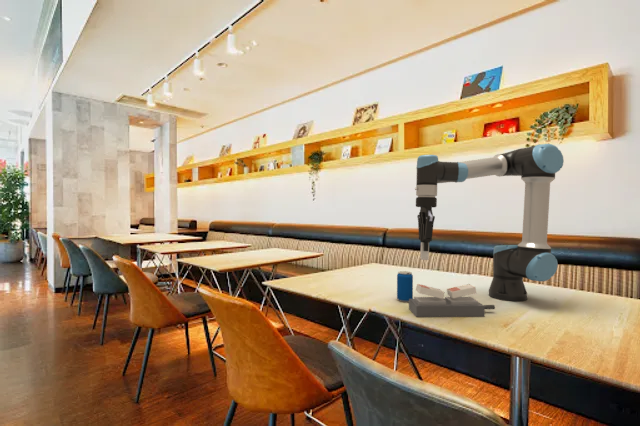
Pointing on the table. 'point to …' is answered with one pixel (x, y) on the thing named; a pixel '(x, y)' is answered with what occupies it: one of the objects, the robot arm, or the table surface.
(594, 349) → the table surface
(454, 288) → the rocker
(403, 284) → the beverage can
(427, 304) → the power strip
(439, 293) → the rocker
